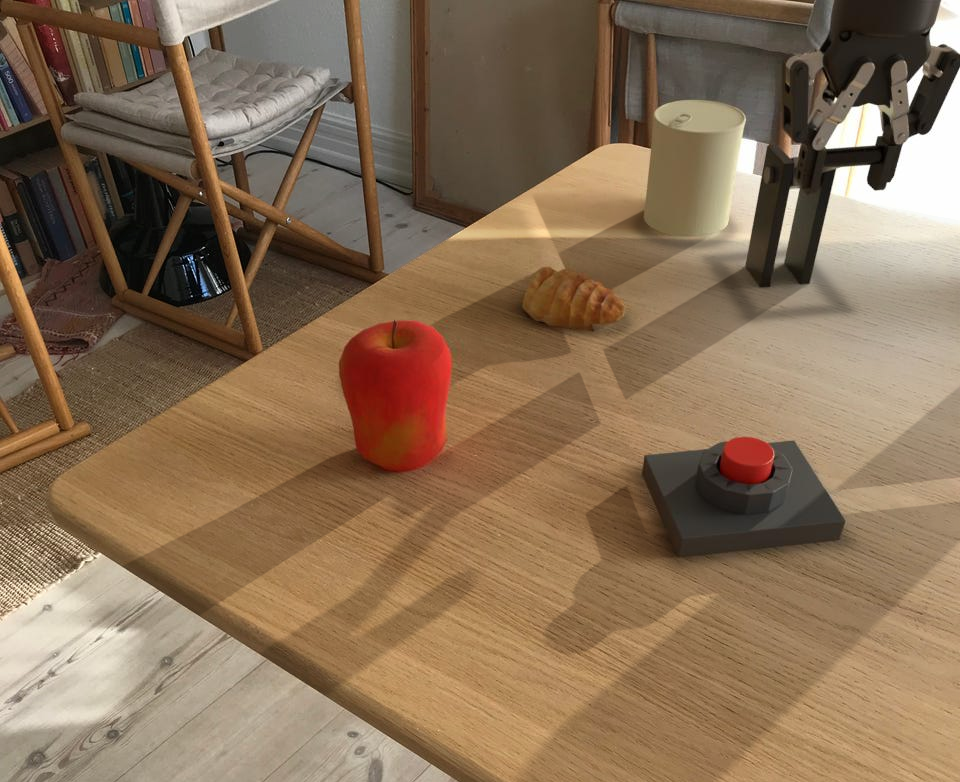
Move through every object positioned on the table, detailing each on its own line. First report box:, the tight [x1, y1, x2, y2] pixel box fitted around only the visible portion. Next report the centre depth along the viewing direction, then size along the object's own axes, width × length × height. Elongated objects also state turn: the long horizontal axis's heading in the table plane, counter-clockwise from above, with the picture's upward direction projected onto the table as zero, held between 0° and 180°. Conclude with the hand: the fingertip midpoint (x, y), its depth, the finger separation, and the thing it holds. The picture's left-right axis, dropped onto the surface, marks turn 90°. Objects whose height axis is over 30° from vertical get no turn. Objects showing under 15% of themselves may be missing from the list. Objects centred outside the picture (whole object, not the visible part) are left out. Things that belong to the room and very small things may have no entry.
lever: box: [789, 144, 883, 190], centre depth 90 cm, size 12×5×2 cm, turn 9°
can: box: [643, 99, 747, 238], centre depth 107 cm, size 9×9×12 cm
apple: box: [338, 319, 453, 473], centre depth 79 cm, size 9×8×12 cm
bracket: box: [745, 144, 837, 289], centre depth 98 cm, size 12×9×13 cm
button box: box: [641, 440, 846, 559], centre depth 76 cm, size 12×10×4 cm
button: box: [720, 436, 774, 485], centre depth 75 cm, size 4×4×2 cm
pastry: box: [521, 266, 627, 332], centre depth 97 cm, size 9×7×4 cm
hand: (842, 188), depth 87 cm, fingers open, 5 cm apart
